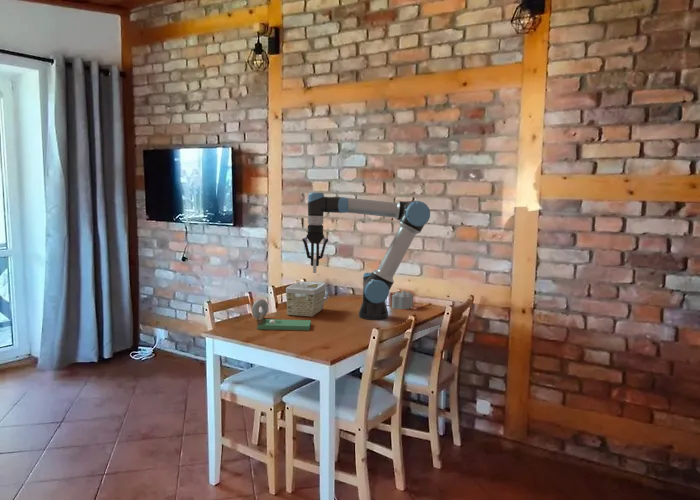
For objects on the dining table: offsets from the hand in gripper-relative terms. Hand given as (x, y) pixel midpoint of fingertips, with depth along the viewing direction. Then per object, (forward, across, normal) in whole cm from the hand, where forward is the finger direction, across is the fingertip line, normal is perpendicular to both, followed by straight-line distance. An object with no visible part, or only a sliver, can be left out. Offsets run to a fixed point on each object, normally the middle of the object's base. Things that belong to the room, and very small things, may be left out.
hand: (314, 272), depth 281 cm
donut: (+25, -27, +3) cm, 37 cm away
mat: (+24, -13, -12) cm, 30 cm away
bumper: (+22, -24, -12) cm, 35 cm away
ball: (+23, -19, -12) cm, 32 cm away
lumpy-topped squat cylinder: (+25, +48, +40) cm, 67 cm away
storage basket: (+25, -5, +21) cm, 33 cm away
